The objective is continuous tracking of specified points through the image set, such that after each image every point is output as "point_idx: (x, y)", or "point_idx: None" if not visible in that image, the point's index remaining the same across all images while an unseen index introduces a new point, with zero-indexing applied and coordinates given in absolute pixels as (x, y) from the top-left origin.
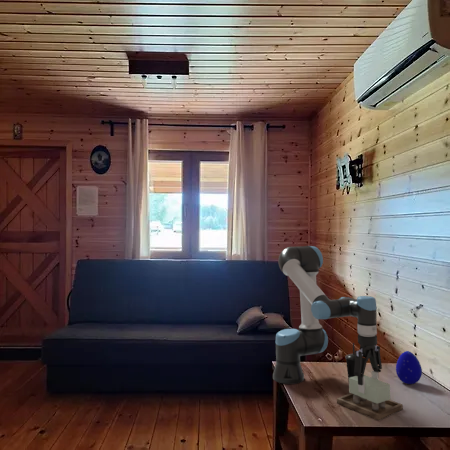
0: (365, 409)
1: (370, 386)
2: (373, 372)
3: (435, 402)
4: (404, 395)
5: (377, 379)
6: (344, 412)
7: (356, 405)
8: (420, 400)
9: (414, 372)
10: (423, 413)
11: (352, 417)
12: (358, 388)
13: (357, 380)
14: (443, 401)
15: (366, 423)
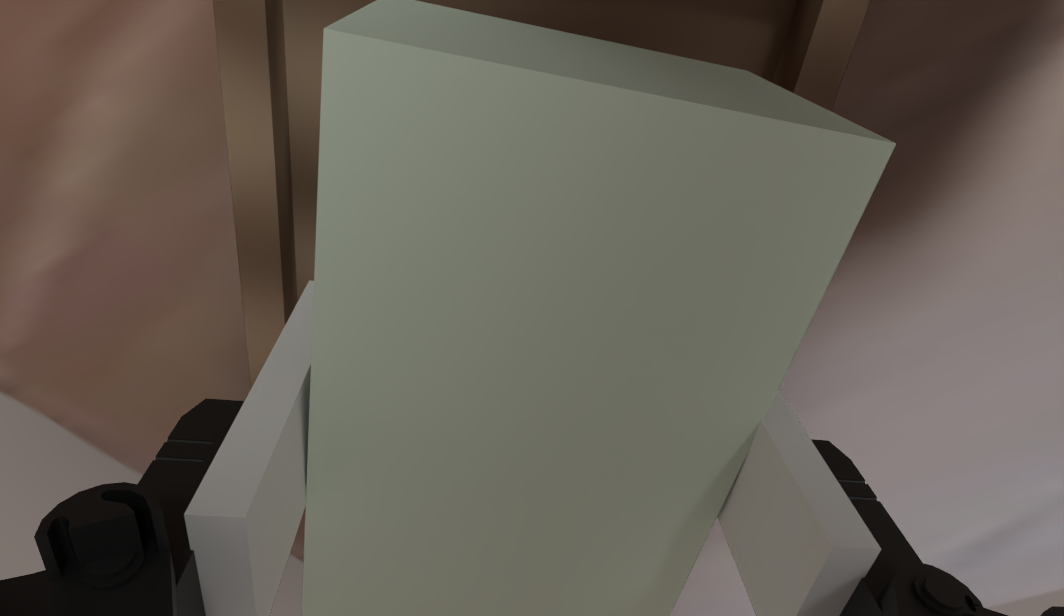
0: (262, 348)
1: (304, 585)
2: (800, 569)
3: (985, 564)
4: (1054, 356)
5: (725, 524)
6: (90, 112)
7: (262, 218)
8: (978, 488)
9: None
10: (701, 585)
11: (83, 256)
12: (294, 310)
13: (344, 315)
14: (1035, 587)
15: (120, 410)
